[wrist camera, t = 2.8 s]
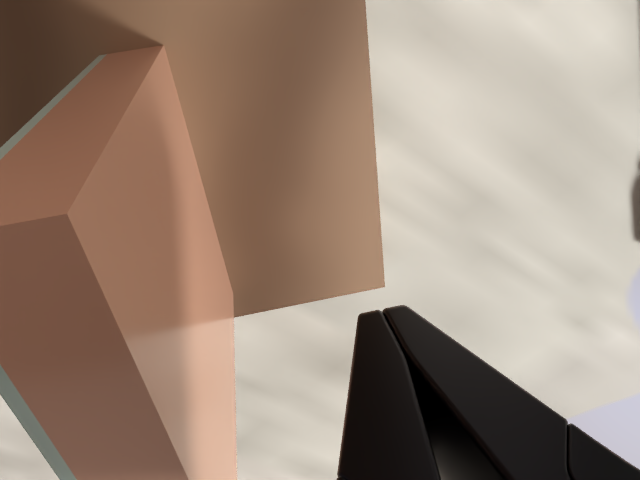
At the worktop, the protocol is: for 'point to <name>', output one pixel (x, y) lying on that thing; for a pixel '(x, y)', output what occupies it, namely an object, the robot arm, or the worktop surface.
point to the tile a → (115, 284)
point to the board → (239, 124)
